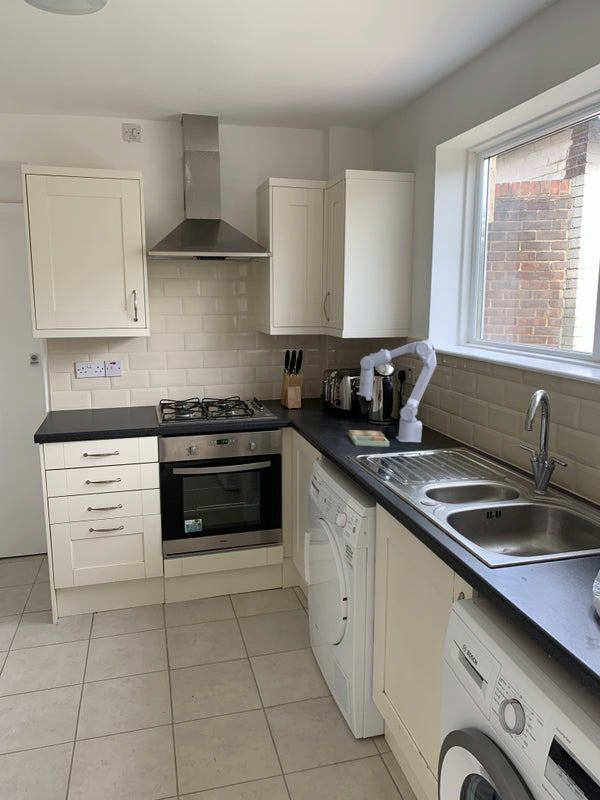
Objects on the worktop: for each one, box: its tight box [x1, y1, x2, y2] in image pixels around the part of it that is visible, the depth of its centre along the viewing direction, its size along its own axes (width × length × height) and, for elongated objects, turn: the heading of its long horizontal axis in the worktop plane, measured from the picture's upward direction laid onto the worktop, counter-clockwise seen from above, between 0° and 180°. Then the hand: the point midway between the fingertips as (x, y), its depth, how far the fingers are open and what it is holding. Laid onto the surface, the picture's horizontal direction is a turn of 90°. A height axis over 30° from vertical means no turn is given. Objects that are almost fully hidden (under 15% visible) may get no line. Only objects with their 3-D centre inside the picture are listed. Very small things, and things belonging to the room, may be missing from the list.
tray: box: [351, 436, 390, 447], centre depth 255 cm, size 14×9×2 cm, turn 95°
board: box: [348, 429, 385, 441], centre depth 264 cm, size 14×8×2 cm, turn 95°
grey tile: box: [357, 437, 369, 441], centre depth 253 cm, size 4×4×2 cm
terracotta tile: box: [372, 436, 384, 441], centre depth 256 cm, size 4×4×2 cm
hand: (364, 413), depth 270 cm, fingers closed
